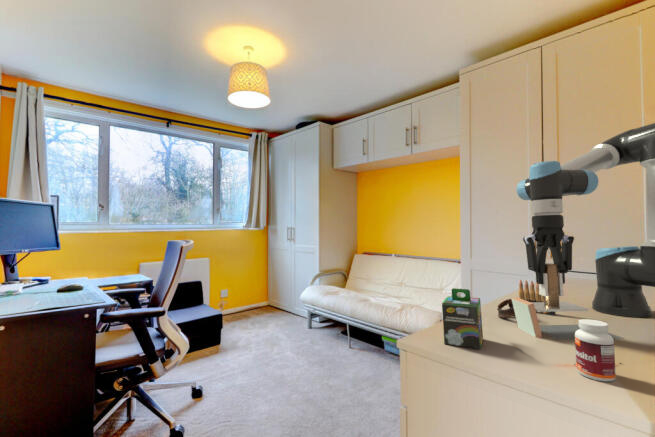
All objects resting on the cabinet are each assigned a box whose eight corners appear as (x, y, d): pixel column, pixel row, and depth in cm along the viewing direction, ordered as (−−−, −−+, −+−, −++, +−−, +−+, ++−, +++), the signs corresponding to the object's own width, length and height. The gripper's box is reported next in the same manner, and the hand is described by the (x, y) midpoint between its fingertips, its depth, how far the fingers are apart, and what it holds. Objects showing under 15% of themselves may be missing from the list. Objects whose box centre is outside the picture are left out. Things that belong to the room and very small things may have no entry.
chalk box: (483, 339, 85) (480, 286, 86) (481, 350, 77) (478, 292, 78) (448, 334, 90) (446, 284, 90) (443, 344, 82) (440, 289, 82)
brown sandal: (538, 328, 94) (523, 305, 94) (507, 337, 99) (493, 315, 99) (532, 309, 104) (519, 289, 105) (505, 318, 109) (492, 298, 109)
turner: (565, 303, 91) (563, 262, 91) (588, 310, 83) (585, 265, 83) (518, 304, 91) (516, 262, 92) (536, 311, 83) (534, 266, 84)
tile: (524, 329, 91) (516, 297, 91) (542, 339, 83) (533, 303, 83) (518, 330, 91) (510, 298, 91) (536, 340, 83) (527, 304, 83)
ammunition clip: (518, 312, 110) (516, 279, 110) (520, 311, 111) (518, 279, 111) (554, 318, 102) (552, 282, 103) (555, 317, 103) (553, 282, 104)
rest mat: (587, 327, 92) (586, 324, 92) (624, 341, 80) (624, 338, 80) (527, 328, 93) (527, 325, 93) (556, 342, 81) (556, 339, 81)
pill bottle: (569, 369, 66) (566, 318, 66) (594, 367, 66) (591, 317, 67) (597, 383, 60) (593, 327, 60) (625, 381, 60) (621, 325, 61)
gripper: (526, 214, 85) (530, 298, 84) (586, 213, 84) (591, 297, 83) (510, 216, 92) (514, 293, 91) (565, 214, 92) (570, 292, 91)
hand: (551, 295), depth 87 cm, fingers closed on turner, 4 cm apart
